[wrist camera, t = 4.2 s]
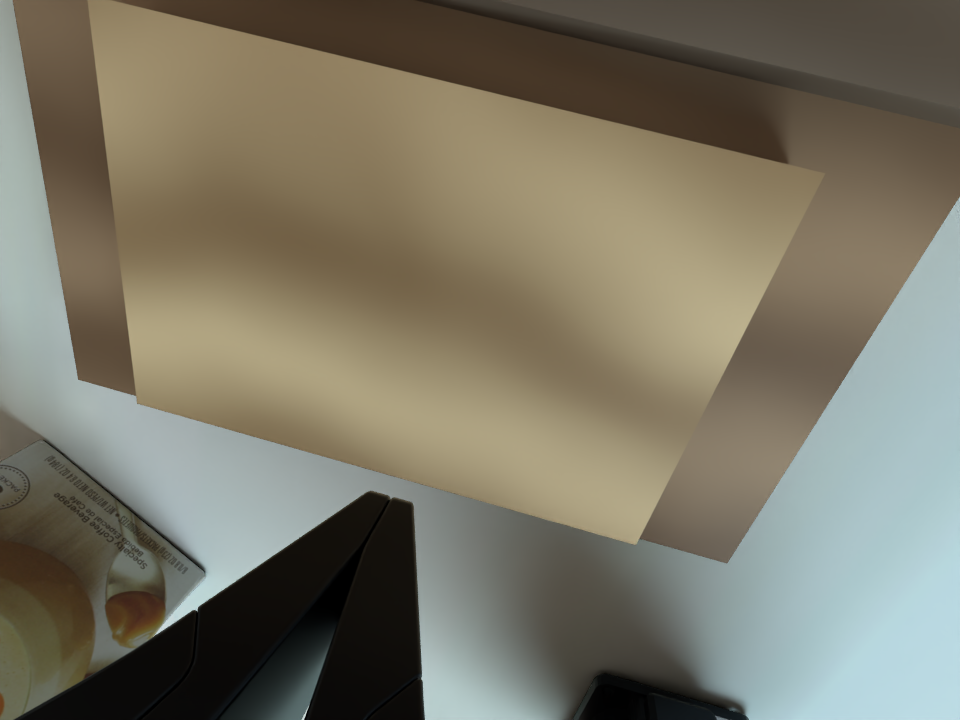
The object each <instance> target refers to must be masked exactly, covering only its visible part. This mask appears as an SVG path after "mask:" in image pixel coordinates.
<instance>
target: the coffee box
mask: <svg viewBox="0 0 960 720" xmlns="http://www.w3.org/2000/svg"><path fill="white" fill-rule="evenodd" d="M205 578H206V576H205V573H204V572H203V571H202V570H201V569H200V568H199V567H197V566H196V565H195V564H194V563H193V562H191V561H190V560H189V559H188V558H187V557H185V556H184V555H183V554H182V553H180V552H179V551H178V550H177V549H176V548H174V547H173V546H172V545H171V544H170V543H168V542H167V541H166V540H165V539H164V538H162V537H161V536H160V535H159V534H158V533H156V532H155V531H154V530H153V529H151V528H150V527H149V526H148V525H146V524H145V523H144V522H143V521H141V520H140V519H139V518H138V517H137V516H135V515H134V514H133V513H132V512H131V511H129V510H128V509H127V508H126V507H125V506H123V505H122V504H121V503H120V502H119V501H117V500H116V499H115V498H114V497H113V496H111V495H110V494H109V493H108V492H107V491H105V490H104V489H103V488H102V487H100V486H99V485H98V484H97V483H96V482H94V481H93V480H92V479H91V478H89V477H88V476H87V475H86V474H85V473H83V472H82V471H81V470H80V469H79V468H77V467H76V466H75V465H74V464H72V463H71V462H70V461H69V460H67V459H66V458H65V457H64V456H63V455H61V454H60V453H59V452H58V451H56V450H55V449H54V448H52V447H51V446H50V445H49V444H47V443H46V442H44V441H41V440H39V441H37V442H35V443H33V444H31V445H29V446H28V447H26V448H24V449H23V450H21V451H19V452H17V453H16V454H14V455H12V456H10V457H8V458H6V459H5V460H3V461H1V462H0V720H13V719H15V718H17V717H19V716H20V715H22V714H24V713H26V712H27V711H29V710H31V709H33V708H35V707H36V706H38V705H40V704H42V703H43V702H45V701H47V700H49V699H50V698H52V697H54V696H56V695H57V694H59V693H61V692H63V691H64V690H66V689H68V688H70V687H71V686H73V685H75V684H77V683H78V682H80V681H82V680H84V679H85V678H87V677H89V676H90V675H92V674H94V673H95V672H97V671H99V670H100V669H102V668H104V667H105V666H107V665H109V664H111V663H112V662H114V661H116V660H117V659H119V658H121V657H122V656H124V655H126V654H127V653H129V652H131V651H132V650H134V649H135V648H137V647H138V646H140V645H141V644H143V643H145V642H146V641H148V640H149V639H151V638H152V637H153V636H154V635H155V634H156V632H157V631H158V630H159V629H160V628H161V626H162V625H163V624H164V623H165V622H166V620H167V619H168V618H169V617H170V616H171V614H172V613H173V612H174V611H175V610H176V609H177V608H178V607H179V606H180V604H181V603H182V602H183V601H184V600H185V599H186V598H187V597H188V596H189V595H190V594H191V593H192V592H193V591H194V590H195V589H196V588H197V587H198V585H199V584H200V583H201V582H202V581H203V580H204V579H205Z"/></svg>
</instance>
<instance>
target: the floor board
mask: <svg viewBox="0 0 960 720" xmlns="http://www.w3.org/2000/svg"><path fill="white" fill-rule="evenodd" d="M112 1H116V2H120V3H124V4H129V5H133V6H137V7H141V8H145V9H149V10H153V11H157V12H162V13H166V14H170V15H174V16H178V17H182V18H186V19H190V20H195V21H199V22H203V23H207V24H211V25H215V26H219V27H223V28H227V29H232V30H236V31H240V32H244V33H248V34H252V35H256V36H260V37H265V38H269V39H273V40H277V41H281V42H285V43H289V44H293V45H298V46H302V47H306V48H310V49H314V50H318V51H322V52H326V53H331V54H335V55H339V56H343V57H347V58H351V59H355V60H359V61H364V62H368V63H372V64H376V65H380V66H384V67H388V68H392V69H397V70H401V71H405V72H409V73H413V74H417V75H421V76H425V77H429V78H434V79H438V80H442V81H446V82H450V83H454V84H458V85H462V86H467V87H471V88H475V89H479V90H483V91H487V92H491V93H495V94H500V95H504V96H508V97H512V98H516V99H520V100H524V101H528V102H533V103H537V104H541V105H545V106H549V107H553V108H557V109H561V110H566V111H570V112H574V113H578V114H582V115H586V116H590V117H594V118H599V119H603V120H607V121H611V122H615V123H619V124H623V125H627V126H632V127H636V128H640V129H644V130H648V131H652V132H656V133H660V134H664V135H669V136H673V137H677V138H681V139H685V140H689V141H693V142H697V143H702V144H706V145H710V146H714V147H718V148H722V149H726V150H730V151H735V152H739V153H743V154H747V155H751V156H755V157H759V158H763V159H768V160H772V161H776V162H780V163H784V164H788V165H792V166H796V167H801V168H805V169H809V170H813V171H817V172H821V173H825V175H824V177H823V179H822V181H821V183H820V185H819V187H818V189H817V191H816V193H815V195H814V197H813V199H812V201H811V202H810V204H809V206H808V208H807V210H806V212H805V214H804V216H803V218H802V220H801V222H800V224H799V226H798V228H797V230H796V232H795V234H794V236H793V238H792V240H791V242H790V244H789V246H788V248H787V250H786V252H785V254H784V255H783V257H782V259H781V261H780V263H779V265H778V267H777V269H776V271H775V273H774V275H773V277H772V279H771V281H770V283H769V285H768V287H767V289H766V291H765V293H764V295H763V297H762V299H761V301H760V303H759V305H758V307H757V309H756V310H755V312H754V314H753V316H752V318H751V320H750V322H749V324H748V326H747V328H746V330H745V332H744V334H743V336H742V338H741V340H740V342H739V344H738V346H737V348H736V350H735V352H734V354H733V356H732V358H731V360H730V362H729V363H728V365H727V367H726V369H725V371H724V373H723V375H722V377H721V379H720V381H719V383H718V385H717V387H716V389H715V391H714V393H713V395H712V397H711V399H710V401H709V403H708V405H707V407H706V409H705V411H704V413H703V415H702V416H701V418H700V420H699V422H698V424H697V426H696V428H695V430H694V432H693V434H692V436H691V438H690V440H689V442H688V444H687V446H686V448H685V450H684V452H683V454H682V456H681V458H680V460H679V462H678V464H677V466H676V468H675V470H674V471H673V473H672V475H671V477H670V479H669V481H668V483H667V485H666V487H665V489H664V491H663V493H662V495H661V497H660V499H659V501H658V503H657V505H656V507H655V509H654V511H653V513H652V515H651V517H650V519H649V521H648V523H647V524H646V526H645V528H644V530H643V532H642V534H641V536H640V538H639V539H643V540H646V541H650V542H653V543H657V544H660V545H664V546H667V547H671V548H675V549H678V550H682V551H685V552H689V553H692V554H696V555H699V556H703V557H706V558H710V559H713V560H717V561H720V562H724V563H728V561H729V560H730V558H731V557H732V555H733V553H734V552H735V550H736V549H737V547H738V546H739V544H740V542H741V541H742V539H743V538H744V536H745V534H746V533H747V531H748V530H749V528H750V527H751V525H752V523H753V522H754V520H755V519H756V517H757V516H758V514H759V512H760V511H761V509H762V508H763V506H764V504H765V503H766V501H767V500H768V498H769V497H770V495H771V493H772V492H773V490H774V489H775V487H776V486H777V484H778V482H779V481H780V479H781V478H782V476H783V474H784V473H785V471H786V470H787V468H788V467H789V465H790V463H791V462H792V460H793V459H794V457H795V456H796V454H797V452H798V451H799V449H800V448H801V446H802V444H803V443H804V441H805V440H806V438H807V437H808V435H809V433H810V432H811V430H812V429H813V427H814V426H815V424H816V422H817V421H818V419H819V418H820V416H821V415H822V413H823V411H824V410H825V408H826V407H827V405H828V403H829V402H830V400H831V399H832V397H833V396H834V394H835V392H836V391H837V389H838V388H839V386H840V385H841V383H842V381H843V380H844V378H845V377H846V375H847V373H848V372H849V370H850V369H851V367H852V366H853V364H854V362H855V361H856V359H857V358H858V356H859V355H860V353H861V351H862V350H863V348H864V347H865V345H866V343H867V342H868V340H869V339H870V337H871V336H872V334H873V332H874V331H875V329H876V328H877V326H878V325H879V323H880V321H881V320H882V318H883V317H884V315H885V313H886V312H887V310H888V309H889V307H890V306H891V304H892V302H893V301H894V299H895V298H896V296H897V295H898V293H899V291H900V290H901V288H902V287H903V285H904V283H905V282H906V280H907V279H908V277H909V276H910V274H911V272H912V271H913V269H914V268H915V266H916V265H917V263H918V261H919V260H920V258H921V257H922V255H923V253H924V252H925V250H926V249H927V247H928V246H929V244H930V242H931V241H932V239H933V238H934V236H935V235H936V233H937V231H938V230H939V228H940V227H941V225H942V223H943V222H944V220H945V219H946V217H947V216H948V214H949V212H950V211H951V209H952V208H953V206H954V205H955V203H956V201H957V200H958V198H959V197H960V0H112ZM13 5H14V11H15V16H16V22H17V28H18V34H19V39H20V45H21V51H22V57H23V63H24V68H25V74H26V80H27V86H28V92H29V97H30V103H31V109H32V115H33V120H34V126H35V132H36V138H37V144H38V149H39V155H40V161H41V167H42V172H43V178H44V184H45V190H46V196H47V201H48V207H49V213H50V219H51V225H52V230H53V236H54V242H55V248H56V253H57V259H58V265H59V271H60V277H61V282H62V288H63V294H64V300H65V306H66V311H67V317H68V323H69V329H70V334H71V340H72V346H73V352H74V358H75V363H76V369H77V375H78V380H82V381H85V382H89V383H92V384H96V385H99V386H103V387H106V388H110V389H113V390H117V391H121V392H124V393H128V394H131V395H135V396H136V390H135V382H134V373H133V365H132V357H131V349H130V341H129V333H128V325H127V317H126V309H125V300H124V292H123V284H122V276H121V268H120V260H119V252H118V244H117V236H116V228H115V219H114V211H113V203H112V195H111V187H110V179H109V171H108V163H107V155H106V147H105V138H104V130H103V122H102V114H101V106H100V98H99V90H98V82H97V74H96V66H95V57H94V49H93V41H92V33H91V25H90V17H89V9H88V1H87V0H13Z"/></svg>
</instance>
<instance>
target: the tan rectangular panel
mask: <svg viewBox="0 0 960 720" xmlns="http://www.w3.org/2000/svg"><path fill="white" fill-rule="evenodd" d="M87 1H88V9H89V17H90V25H91V33H92V41H93V49H94V57H95V66H96V74H97V82H98V90H99V98H100V106H101V114H102V122H103V130H104V138H105V147H106V155H107V163H108V171H109V179H110V187H111V195H112V203H113V211H114V219H115V228H116V236H117V244H118V252H119V260H120V268H121V276H122V284H123V292H124V300H125V309H126V317H127V325H128V333H129V341H130V349H131V357H132V365H133V373H134V382H135V390H136V398H137V404H141V405H144V406H148V407H151V408H155V409H158V410H162V411H165V412H169V413H172V414H176V415H180V416H183V417H187V418H190V419H194V420H197V421H201V422H204V423H208V424H211V425H215V426H218V427H222V428H225V429H229V430H232V431H236V432H239V433H243V434H246V435H250V436H253V437H257V438H260V439H264V440H268V441H271V442H275V443H278V444H282V445H285V446H289V447H292V448H296V449H299V450H303V451H306V452H310V453H313V454H317V455H320V456H324V457H327V458H331V459H334V460H338V461H341V462H345V463H348V464H352V465H356V466H359V467H363V468H366V469H370V470H373V471H377V472H380V473H384V474H387V475H391V476H394V477H398V478H401V479H405V480H408V481H412V482H415V483H419V484H422V485H426V486H429V487H433V488H436V489H440V490H444V491H447V492H451V493H454V494H458V495H461V496H465V497H468V498H472V499H475V500H479V501H482V502H486V503H489V504H493V505H496V506H500V507H503V508H507V509H510V510H514V511H517V512H521V513H524V514H528V515H531V516H535V517H539V518H542V519H546V520H549V521H553V522H556V523H560V524H563V525H567V526H570V527H574V528H577V529H581V530H584V531H588V532H591V533H595V534H598V535H602V536H605V537H609V538H612V539H616V540H619V541H623V542H627V543H630V544H634V545H636V544H637V542H638V540H639V538H640V536H641V534H642V532H643V530H644V528H645V526H646V524H647V523H648V521H649V519H650V517H651V515H652V513H653V511H654V509H655V507H656V505H657V503H658V501H659V499H660V497H661V495H662V493H663V491H664V489H665V487H666V485H667V483H668V481H669V479H670V477H671V475H672V473H673V471H674V470H675V468H676V466H677V464H678V462H679V460H680V458H681V456H682V454H683V452H684V450H685V448H686V446H687V444H688V442H689V440H690V438H691V436H692V434H693V432H694V430H695V428H696V426H697V424H698V422H699V420H700V418H701V416H702V415H703V413H704V411H705V409H706V407H707V405H708V403H709V401H710V399H711V397H712V395H713V393H714V391H715V389H716V387H717V385H718V383H719V381H720V379H721V377H722V375H723V373H724V371H725V369H726V367H727V365H728V363H729V362H730V360H731V358H732V356H733V354H734V352H735V350H736V348H737V346H738V344H739V342H740V340H741V338H742V336H743V334H744V332H745V330H746V328H747V326H748V324H749V322H750V320H751V318H752V316H753V314H754V312H755V310H756V309H757V307H758V305H759V303H760V301H761V299H762V297H763V295H764V293H765V291H766V289H767V287H768V285H769V283H770V281H771V279H772V277H773V275H774V273H775V271H776V269H777V267H778V265H779V263H780V261H781V259H782V257H783V255H784V254H785V252H786V250H787V248H788V246H789V244H790V242H791V240H792V238H793V236H794V234H795V232H796V230H797V228H798V226H799V224H800V222H801V220H802V218H803V216H804V214H805V212H806V210H807V208H808V206H809V204H810V202H811V201H812V199H813V197H814V195H815V193H816V191H817V189H818V187H819V185H820V183H821V181H822V179H823V177H824V175H825V173H821V172H817V171H813V170H809V169H805V168H801V167H796V166H792V165H788V164H784V163H780V162H776V161H772V160H768V159H763V158H759V157H755V156H751V155H747V154H743V153H739V152H735V151H730V150H726V149H722V148H718V147H714V146H710V145H706V144H702V143H697V142H693V141H689V140H685V139H681V138H677V137H673V136H669V135H664V134H660V133H656V132H652V131H648V130H644V129H640V128H636V127H632V126H627V125H623V124H619V123H615V122H611V121H607V120H603V119H599V118H594V117H590V116H586V115H582V114H578V113H574V112H570V111H566V110H561V109H557V108H553V107H549V106H545V105H541V104H537V103H533V102H528V101H524V100H520V99H516V98H512V97H508V96H504V95H500V94H495V93H491V92H487V91H483V90H479V89H475V88H471V87H467V86H462V85H458V84H454V83H450V82H446V81H442V80H438V79H434V78H429V77H425V76H421V75H417V74H413V73H409V72H405V71H401V70H397V69H392V68H388V67H384V66H380V65H376V64H372V63H368V62H364V61H359V60H355V59H351V58H347V57H343V56H339V55H335V54H331V53H326V52H322V51H318V50H314V49H310V48H306V47H302V46H298V45H293V44H289V43H285V42H281V41H277V40H273V39H269V38H265V37H260V36H256V35H252V34H248V33H244V32H240V31H236V30H232V29H227V28H223V27H219V26H215V25H211V24H207V23H203V22H199V21H195V20H190V19H186V18H182V17H178V16H174V15H170V14H166V13H162V12H157V11H153V10H149V9H145V8H141V7H137V6H133V5H129V4H124V3H120V2H116V1H112V0H87Z"/></svg>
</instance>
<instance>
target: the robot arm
mask: <svg viewBox="0 0 960 720" xmlns="http://www.w3.org/2000/svg"><path fill="white" fill-rule="evenodd" d="M421 677H422V665H421V645H420V625H419V605H418V585H417V565H416V545H415V525H414V506H413V504H412V502H409V501H405V500H402V499H398V498H392V499H390V497H389V496H388V495H384V494H381V493H377V492H374V491H369V492H366V493H365V494H363V495H362V496H360V497H359V498H358V499H356V500H355V501H353V502H352V503H350V504H349V505H347V506H346V507H344V508H343V509H341V510H340V511H338V512H337V513H336V514H334V515H333V516H331V517H330V518H328V519H327V520H325V521H324V522H322V523H321V524H319V525H318V526H316V527H315V528H313V529H312V530H311V531H309V532H308V533H306V534H305V535H303V536H302V537H300V538H299V539H297V540H296V541H294V542H293V543H291V544H290V545H289V546H287V547H286V548H284V549H283V550H281V551H280V552H278V553H277V554H275V555H274V556H272V557H271V558H269V559H268V560H266V561H265V562H264V563H262V564H261V565H259V566H258V567H256V568H255V569H253V570H252V571H250V572H249V573H247V574H246V575H244V576H243V577H242V578H240V579H239V580H237V581H236V582H234V583H233V584H231V585H230V586H228V587H227V588H225V589H224V590H222V591H221V592H219V593H218V594H217V595H215V596H214V597H212V598H211V599H209V600H208V601H206V602H205V603H203V604H202V605H200V606H199V607H198V612H197V611H196V610H193V611H191V612H190V613H188V614H187V615H185V616H184V617H182V618H181V619H179V620H178V621H177V622H175V623H174V624H172V625H171V626H169V627H168V628H166V629H165V630H163V631H161V632H160V633H158V634H157V635H155V636H154V637H152V638H151V639H149V640H148V641H146V642H145V643H143V644H141V645H140V646H138V647H137V648H135V649H134V650H132V651H131V652H129V653H127V654H126V655H124V656H122V657H121V658H119V659H117V660H116V661H114V662H112V663H111V664H109V665H107V666H105V667H104V668H102V669H100V670H99V671H97V672H95V673H94V674H92V675H90V676H89V677H87V678H85V679H84V680H82V681H80V682H78V683H77V684H75V685H73V686H71V687H70V688H68V689H66V690H64V691H63V692H61V693H59V694H57V695H56V696H54V697H52V698H50V699H49V700H47V701H45V702H43V703H42V704H40V705H38V706H36V707H35V708H33V709H31V710H29V711H27V712H26V713H24V714H22V715H20V716H19V717H17V718H15V719H13V720H301V719H302V717H303V715H304V714H305V712H306V710H307V708H308V706H309V708H308V711H307V713H306V716H305V719H304V720H425V715H424V701H423V681H422V680H421ZM309 704H310V705H309ZM573 720H749V719H748V718H747V717H746V716H745V715H743V714H740V713H737V712H733V711H730V710H726V709H723V708H720V707H716V706H713V705H710V704H706V703H703V702H700V701H696V700H693V699H689V698H686V697H683V696H679V695H676V694H673V693H669V692H666V691H663V690H659V689H656V688H653V687H649V686H646V685H642V684H639V683H636V682H632V681H629V680H626V679H622V678H619V677H616V676H612V675H608V674H601V675H599V676H597V677H596V678H595V679H594V681H593V683H592V685H591V686H590V688H589V690H588V692H587V694H586V696H585V697H584V699H583V701H582V703H581V705H580V707H579V709H578V710H577V712H576V714H575V716H574V718H573Z"/></svg>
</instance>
